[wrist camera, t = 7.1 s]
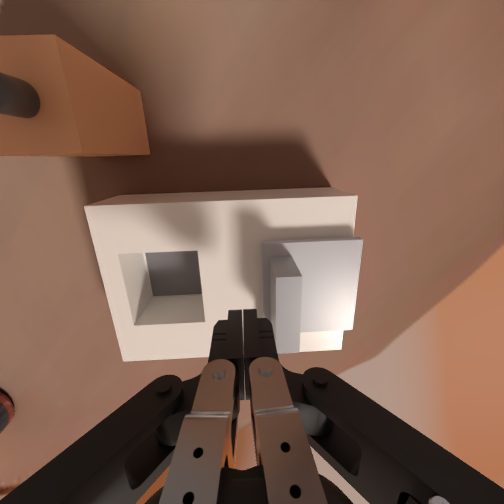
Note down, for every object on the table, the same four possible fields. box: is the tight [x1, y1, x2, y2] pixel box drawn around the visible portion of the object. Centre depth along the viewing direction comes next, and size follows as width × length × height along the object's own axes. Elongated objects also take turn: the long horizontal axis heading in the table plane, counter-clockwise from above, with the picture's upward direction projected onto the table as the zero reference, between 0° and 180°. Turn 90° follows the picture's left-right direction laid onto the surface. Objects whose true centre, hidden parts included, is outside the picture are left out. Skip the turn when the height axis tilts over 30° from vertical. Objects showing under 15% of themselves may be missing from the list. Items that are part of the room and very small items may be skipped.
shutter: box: [261, 237, 363, 354], centre depth 16 cm, size 7×6×4 cm
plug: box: [0, 34, 150, 156], centre depth 14 cm, size 4×4×11 cm
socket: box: [84, 187, 358, 361], centre depth 21 cm, size 12×17×5 cm
